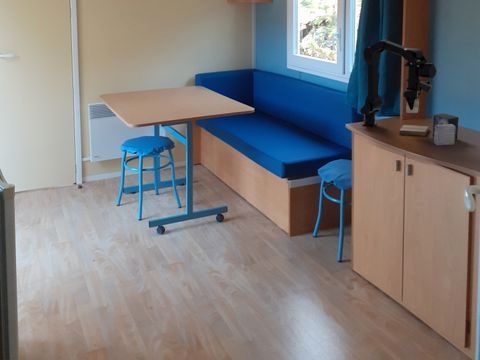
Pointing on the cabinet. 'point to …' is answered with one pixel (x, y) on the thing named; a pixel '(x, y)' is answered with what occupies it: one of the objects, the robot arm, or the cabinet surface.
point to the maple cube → (415, 108)
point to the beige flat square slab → (413, 130)
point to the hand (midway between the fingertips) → (412, 108)
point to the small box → (445, 121)
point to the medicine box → (444, 134)
